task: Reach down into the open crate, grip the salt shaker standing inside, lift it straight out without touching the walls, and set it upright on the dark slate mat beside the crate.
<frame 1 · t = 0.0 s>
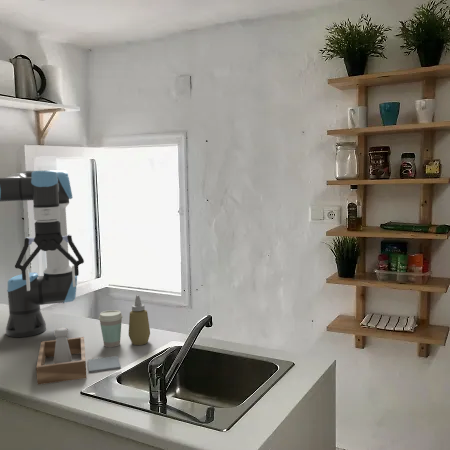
hand: (51, 288, 157), 28 cm above the counter, tool pointing down, fingers open, 13 cm apart
crate: (63, 366, 166), on the counter
coffee cup: (112, 345, 186), on the counter
squeeze bottle: (139, 343, 187), on the counter
mat: (104, 364, 166), on the counter
salt shaker: (63, 367, 166), resting in crate
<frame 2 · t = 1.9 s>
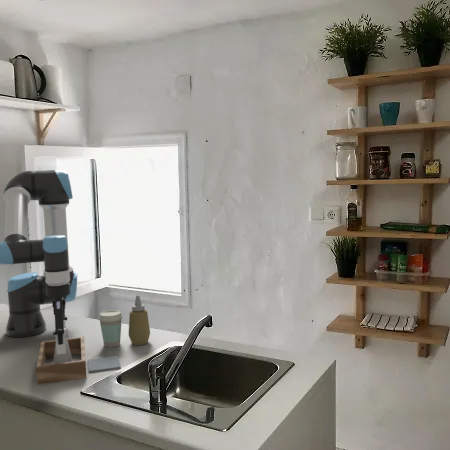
hand: (61, 346, 164), 7 cm above the counter, tool pointing down, fingers open, 13 cm apart
nothing on the counter moved.
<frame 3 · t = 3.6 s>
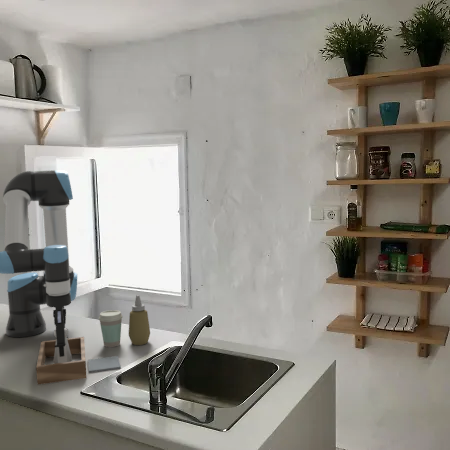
hand: (62, 361, 165), 2 cm above the counter, tool pointing down, fingers closed on salt shaker, 6 cm apart
salt shaker: (63, 367, 166), resting in crate, touching gripper
everything else where it was.
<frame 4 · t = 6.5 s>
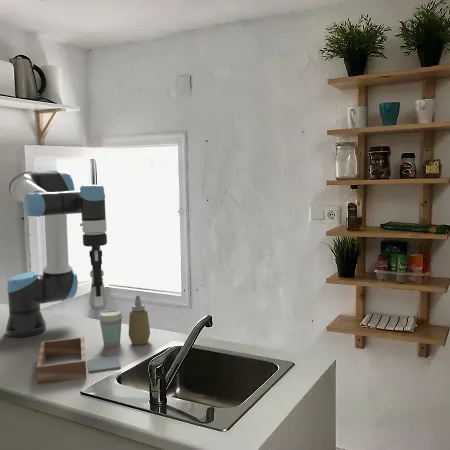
hand: (98, 303, 164), 21 cm above the counter, tool pointing down, fingers closed on salt shaker, 6 cm apart
salt shaker: (98, 309, 164), point 19 cm above the counter, touching gripper
everything else where it was.
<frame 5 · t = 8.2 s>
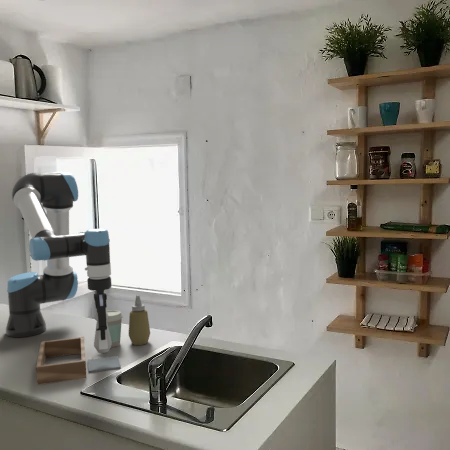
hand: (103, 345, 166), 7 cm above the counter, tool pointing down, fingers closed on salt shaker, 6 cm apart
salt shaker: (103, 351, 166), point 5 cm above the counter, touching gripper
everything else where it was.
when the fingers open (4 cm above the counter, at t = 9.4 s): salt shaker drops 1 cm, resting on mat.
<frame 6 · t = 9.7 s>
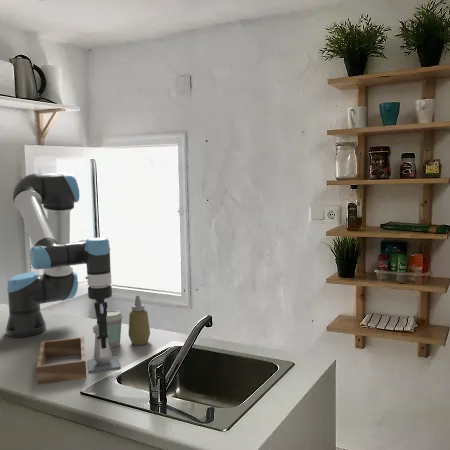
hand: (103, 351, 166), 5 cm above the counter, tool pointing down, fingers open, 9 cm apart
salt shaker: (103, 363, 166), point 1 cm above the counter, touching mat
everything else where it was.
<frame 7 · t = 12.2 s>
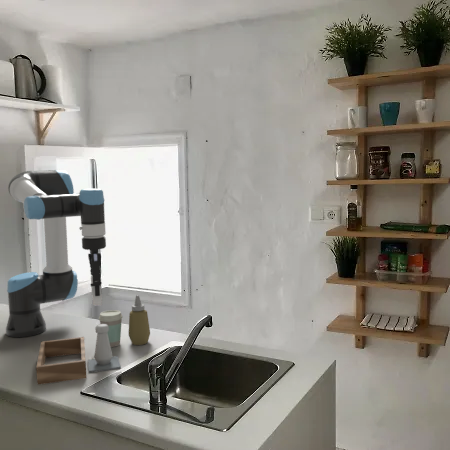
hand: (96, 299, 166), 22 cm above the counter, tool pointing down, fingers open, 13 cm apart
nothing on the counter moved.
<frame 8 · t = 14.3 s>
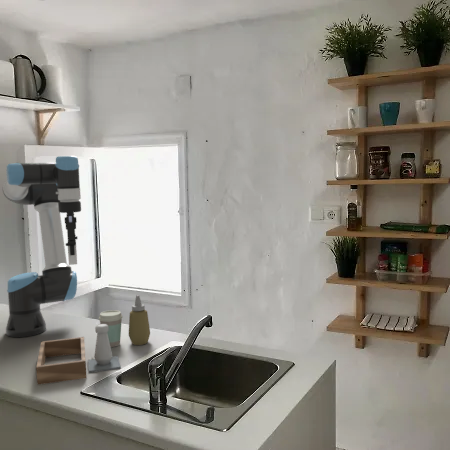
hand: (73, 261, 177), 33 cm above the counter, tool pointing down, fingers open, 13 cm apart
nothing on the counter moved.
at the end: salt shaker inside the target area on the mat (0.1 cm from its centre), point 0.4 cm above the mat's base; salt shaker tilted 0°; salt shaker touching mat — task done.
